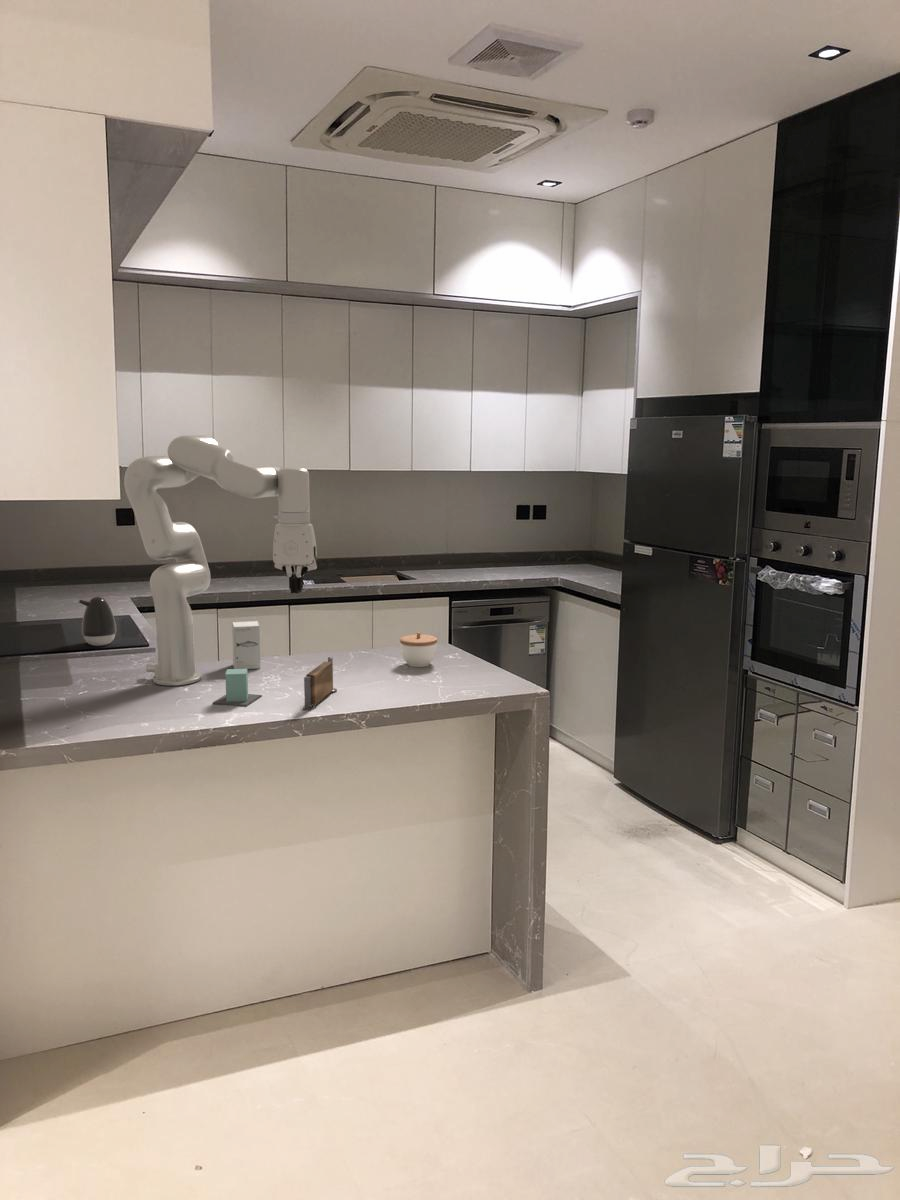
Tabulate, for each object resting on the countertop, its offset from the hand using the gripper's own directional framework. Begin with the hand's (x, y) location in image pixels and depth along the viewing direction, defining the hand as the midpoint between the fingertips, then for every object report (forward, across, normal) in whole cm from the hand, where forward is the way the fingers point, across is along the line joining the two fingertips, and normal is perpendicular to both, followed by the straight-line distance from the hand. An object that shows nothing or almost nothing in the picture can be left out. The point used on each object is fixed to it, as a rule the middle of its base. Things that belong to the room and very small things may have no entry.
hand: (296, 592), depth 237 cm
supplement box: (+27, -26, +26) cm, 46 cm away
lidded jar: (+27, +21, +40) cm, 53 cm away
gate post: (+27, +6, +7) cm, 29 cm away
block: (+27, -14, -6) cm, 31 cm away
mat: (+27, -14, -6) cm, 31 cm away
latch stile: (+27, +6, -9) cm, 29 cm away
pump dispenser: (+27, -83, +42) cm, 97 cm away
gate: (+26, +6, -1) cm, 27 cm away
